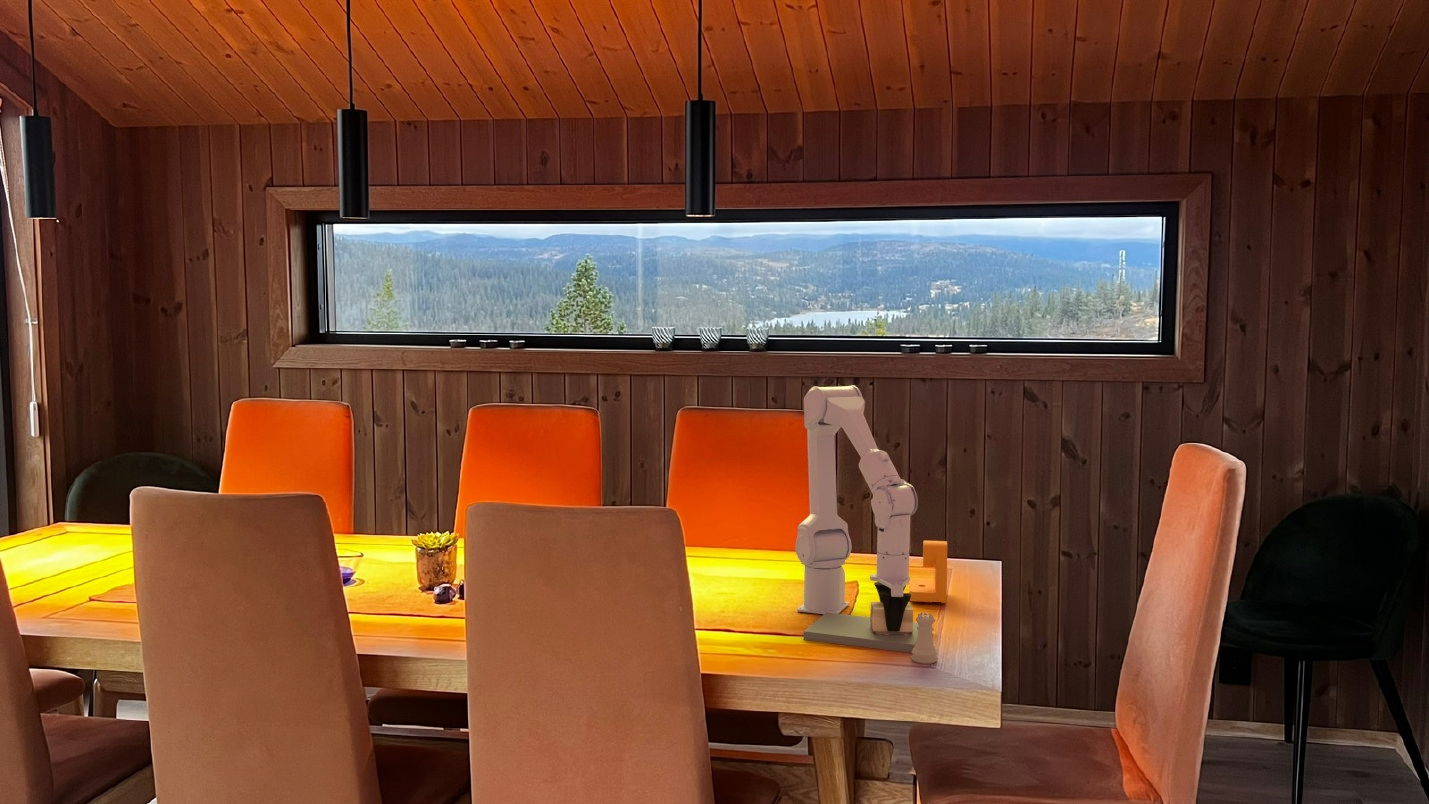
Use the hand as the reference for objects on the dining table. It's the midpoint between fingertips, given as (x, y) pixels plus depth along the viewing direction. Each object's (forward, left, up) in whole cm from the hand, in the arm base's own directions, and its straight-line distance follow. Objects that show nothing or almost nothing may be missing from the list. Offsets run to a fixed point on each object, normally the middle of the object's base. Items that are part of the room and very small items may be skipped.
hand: (891, 626), depth 218 cm
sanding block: (0, 0, -1) cm, 1 cm away
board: (0, -4, -2) cm, 5 cm away
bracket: (-31, 0, -2) cm, 31 cm away
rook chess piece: (+10, +8, -2) cm, 14 cm away
